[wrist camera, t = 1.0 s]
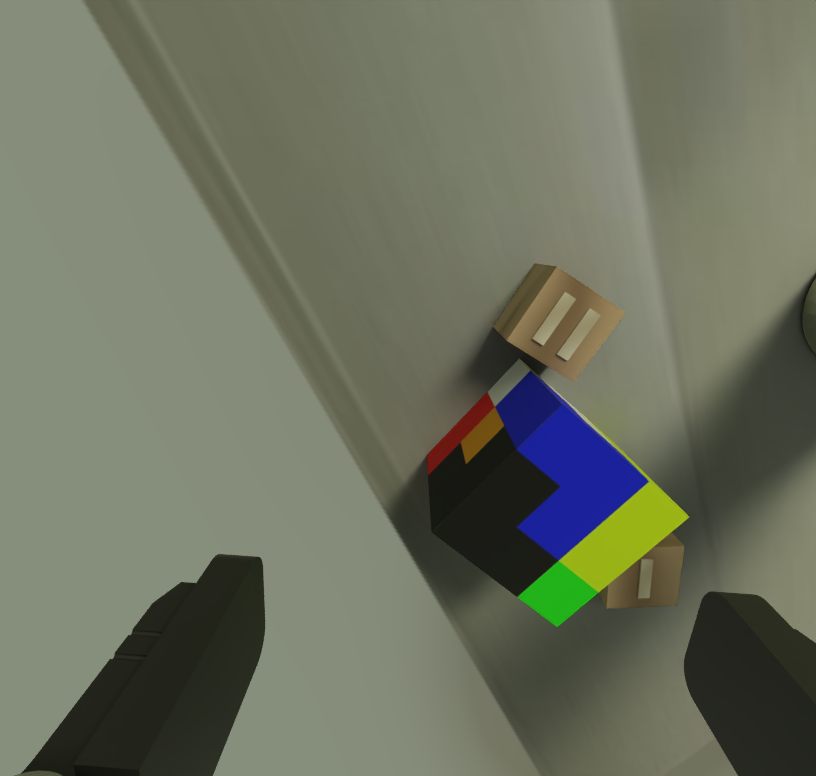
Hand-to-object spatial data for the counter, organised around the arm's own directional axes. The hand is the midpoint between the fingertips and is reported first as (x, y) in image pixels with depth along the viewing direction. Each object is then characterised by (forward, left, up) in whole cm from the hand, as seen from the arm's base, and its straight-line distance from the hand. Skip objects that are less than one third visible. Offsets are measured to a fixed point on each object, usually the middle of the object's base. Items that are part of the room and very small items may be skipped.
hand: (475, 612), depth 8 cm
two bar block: (-7, -4, -25) cm, 27 cm away
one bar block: (-19, +11, -25) cm, 34 cm away
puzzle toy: (-9, +6, -26) cm, 28 cm away
